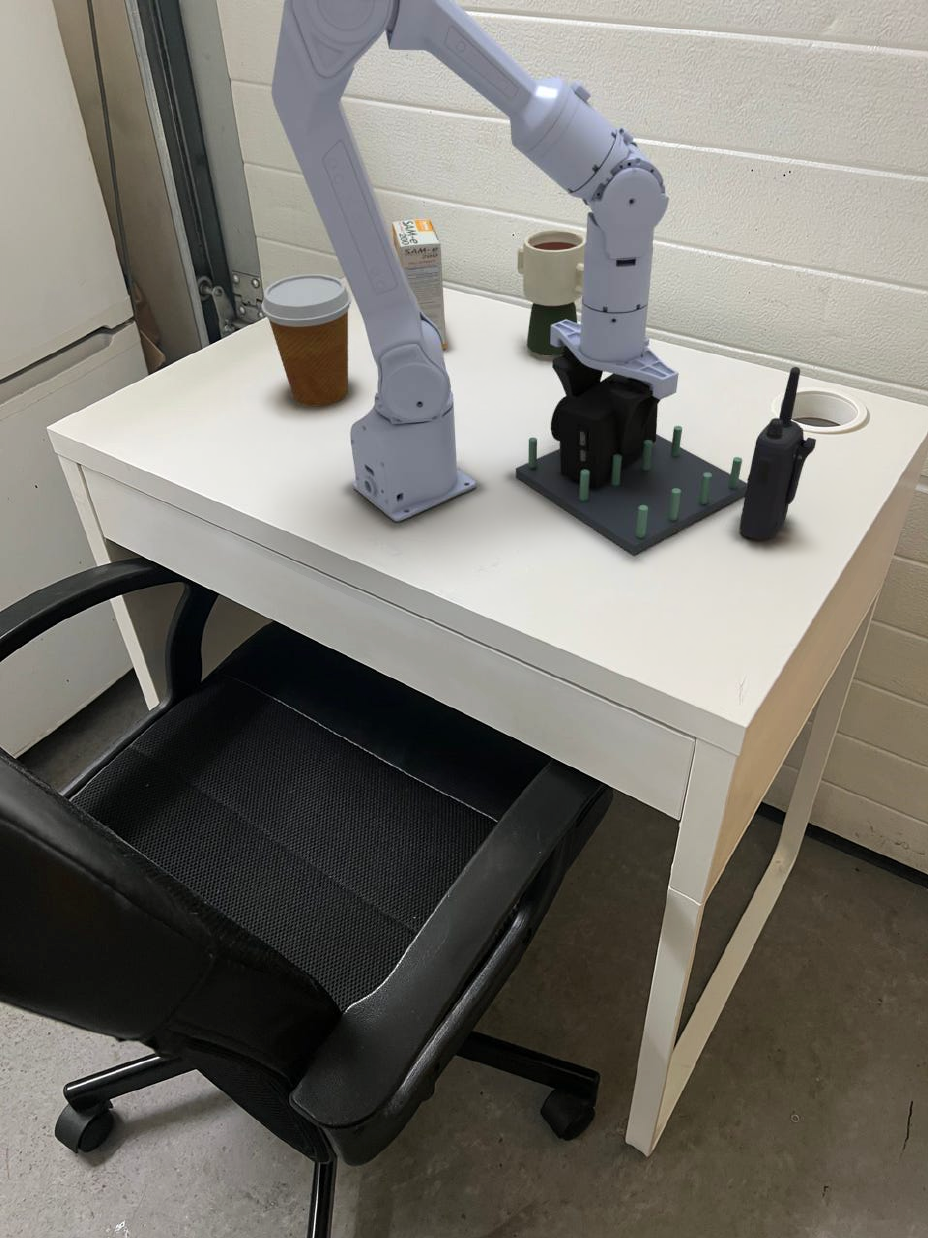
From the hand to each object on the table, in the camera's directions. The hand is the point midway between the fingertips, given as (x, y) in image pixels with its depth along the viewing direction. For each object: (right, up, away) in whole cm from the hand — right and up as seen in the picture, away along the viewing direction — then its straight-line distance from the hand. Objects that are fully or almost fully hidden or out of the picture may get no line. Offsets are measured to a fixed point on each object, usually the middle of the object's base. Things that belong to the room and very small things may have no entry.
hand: (605, 437), depth 90 cm
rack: (+2, -5, 0) cm, 5 cm away
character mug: (-3, +15, +23) cm, 27 cm away
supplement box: (-19, +17, +26) cm, 37 cm away
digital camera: (0, -2, +2) cm, 2 cm away
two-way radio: (+14, -10, -6) cm, 18 cm away
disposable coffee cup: (-30, +8, +17) cm, 35 cm away
